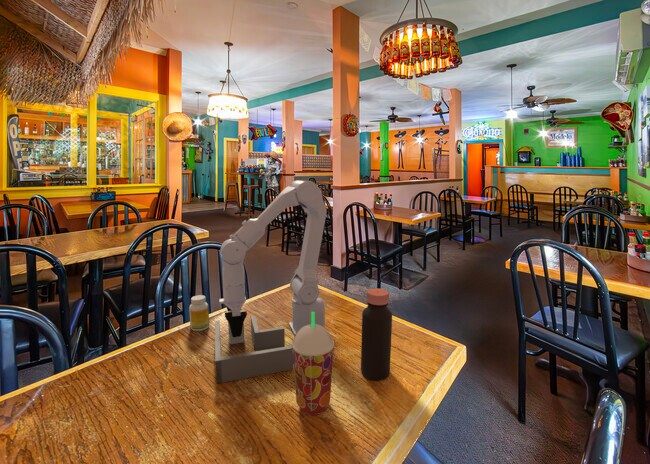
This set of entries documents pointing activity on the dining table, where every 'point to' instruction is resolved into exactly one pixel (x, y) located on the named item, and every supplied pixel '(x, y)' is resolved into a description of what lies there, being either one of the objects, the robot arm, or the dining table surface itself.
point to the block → (236, 339)
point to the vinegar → (376, 336)
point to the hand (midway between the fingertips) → (235, 329)
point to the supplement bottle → (199, 313)
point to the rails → (254, 355)
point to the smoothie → (313, 367)
